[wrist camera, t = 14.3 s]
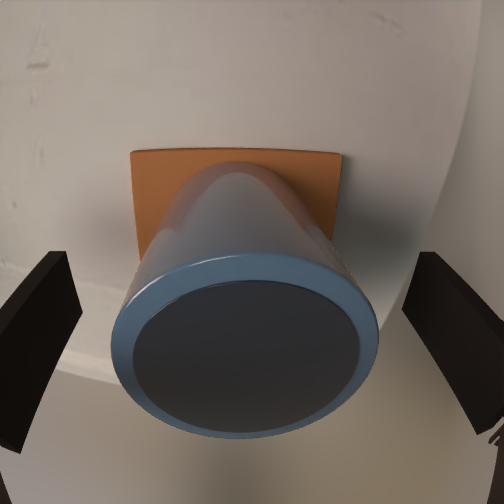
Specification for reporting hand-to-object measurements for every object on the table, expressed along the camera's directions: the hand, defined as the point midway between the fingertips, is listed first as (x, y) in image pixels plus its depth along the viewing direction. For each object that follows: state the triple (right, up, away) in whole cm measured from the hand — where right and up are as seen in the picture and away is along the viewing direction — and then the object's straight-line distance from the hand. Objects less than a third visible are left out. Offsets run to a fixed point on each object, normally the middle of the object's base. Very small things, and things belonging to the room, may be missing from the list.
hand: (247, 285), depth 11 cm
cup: (-1, +2, +5) cm, 5 cm away
